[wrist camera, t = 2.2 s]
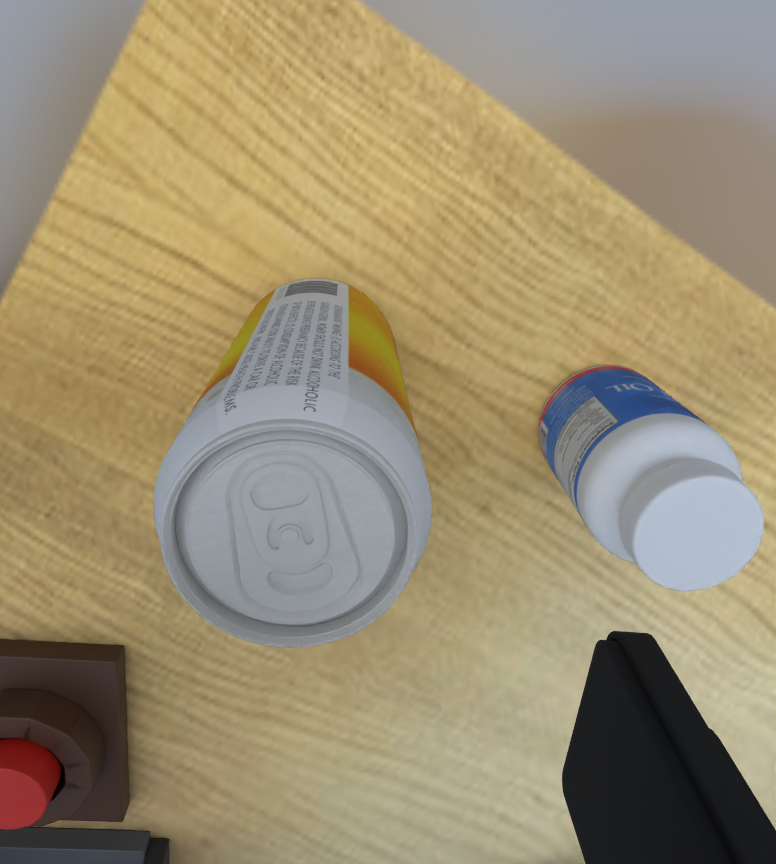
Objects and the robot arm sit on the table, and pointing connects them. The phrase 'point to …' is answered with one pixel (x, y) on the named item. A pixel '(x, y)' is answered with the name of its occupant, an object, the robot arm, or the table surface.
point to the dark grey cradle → (81, 847)
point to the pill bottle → (650, 478)
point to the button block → (71, 721)
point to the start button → (25, 781)
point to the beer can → (297, 475)
